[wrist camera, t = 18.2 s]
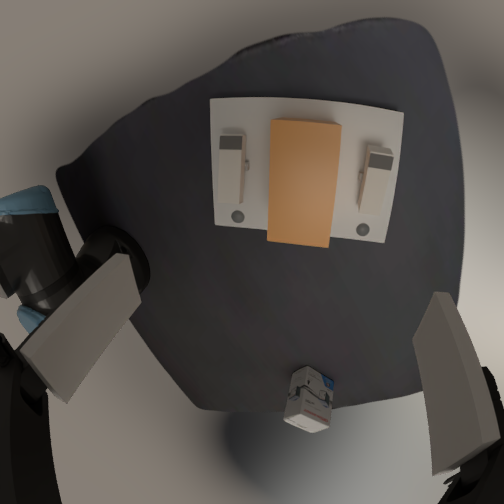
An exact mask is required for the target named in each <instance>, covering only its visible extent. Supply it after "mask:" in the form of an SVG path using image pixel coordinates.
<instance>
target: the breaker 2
mask: <svg viewBox="0 0 504 504" xmlns="http://www.w3.org/2000/svg"><path fill="white" fill-rule="evenodd" d="M393 159H394V154H393V153H392V151H391V149H390V148H385V147H379V146H373V145H368V148H367V154H366V161H365V167H364V173H363V178H362V184H361V189H360V194H359V199H358V204H357V205H358V211H359V213H361V214H369V215H376V216H380V212H381V208H382V204H383V201H384V197H385V193H386V189H387V184H388V180H389V176H390V171H391V169H392V164H393Z"/></svg>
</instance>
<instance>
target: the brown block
mask: <svg viewBox="0 0 504 504" xmlns="http://www.w3.org/2000/svg"><path fill="white" fill-rule="evenodd" d="M341 130H342V125H340V124H338V123H336V122H332V121H323V120H313V119H301V118H285V117H280V118H276V119H271V124H270V167H269V201H268V230H267V241H273V242H282V243H291V244H299V245H308V246H316V247H325V248H328V246H329V239H330V232H331V225H332V218H333V211H334V203H335V194H336V186H337V176H338V166H339V156H340V144H341Z"/></svg>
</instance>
